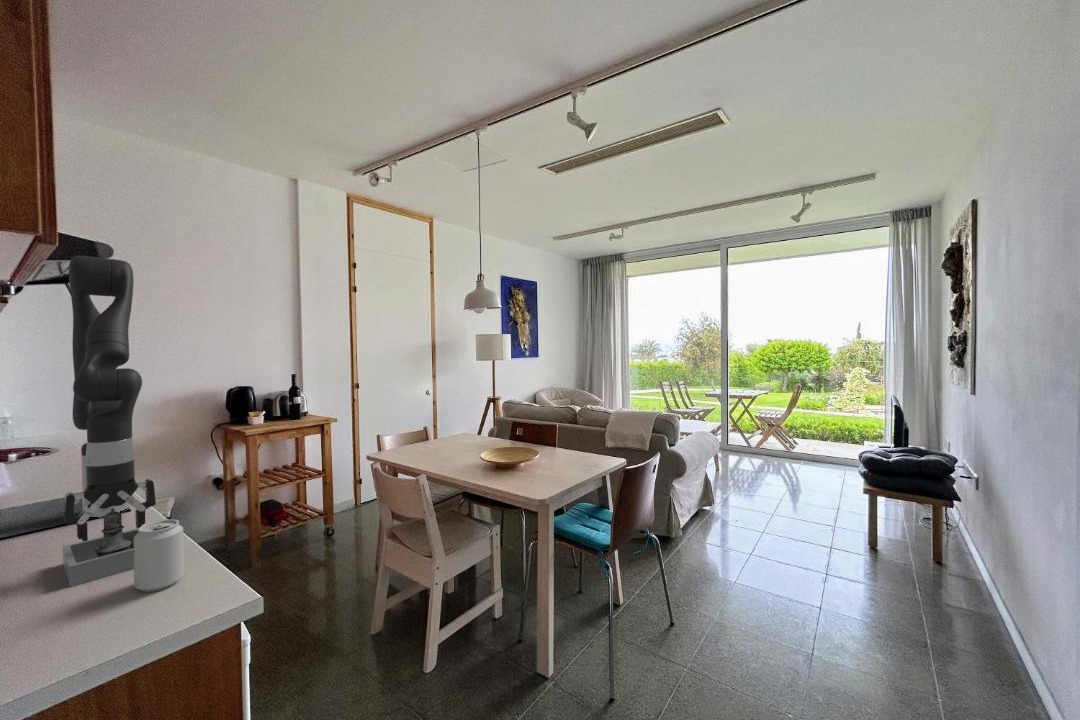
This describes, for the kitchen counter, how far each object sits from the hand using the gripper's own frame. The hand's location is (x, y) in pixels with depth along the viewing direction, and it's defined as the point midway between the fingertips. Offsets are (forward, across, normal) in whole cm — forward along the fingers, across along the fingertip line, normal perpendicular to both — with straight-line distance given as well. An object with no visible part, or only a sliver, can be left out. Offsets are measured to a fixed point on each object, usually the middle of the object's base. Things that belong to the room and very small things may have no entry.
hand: (112, 533), depth 96 cm
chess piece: (+7, 0, 0) cm, 7 cm away
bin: (+6, 0, 0) cm, 6 cm away
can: (+7, -4, +19) cm, 21 cm away
